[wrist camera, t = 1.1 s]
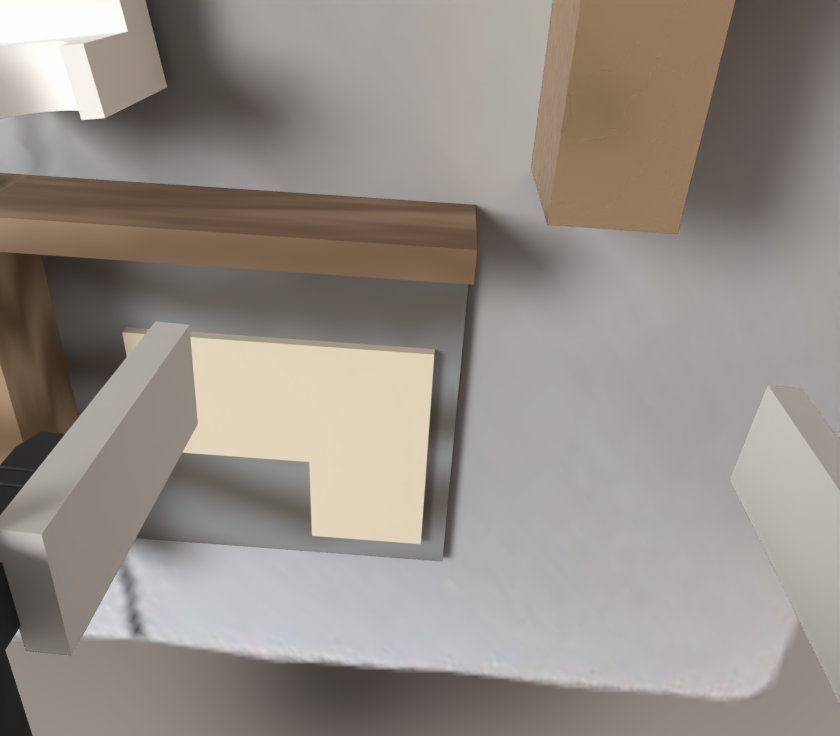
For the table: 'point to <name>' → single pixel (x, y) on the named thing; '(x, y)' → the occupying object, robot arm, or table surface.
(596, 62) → the wooden l-shaped block
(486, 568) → the table surface
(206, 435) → the pad
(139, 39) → the bracket
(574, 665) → the table surface
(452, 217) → the arena
